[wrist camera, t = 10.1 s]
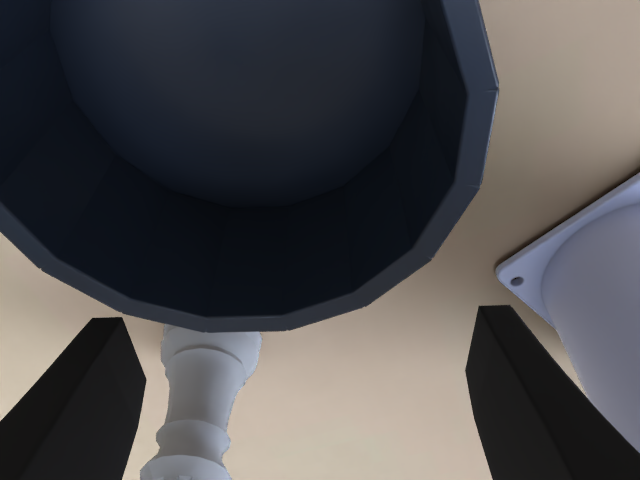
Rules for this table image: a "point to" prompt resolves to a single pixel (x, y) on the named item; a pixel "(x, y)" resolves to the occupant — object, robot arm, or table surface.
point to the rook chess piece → (200, 401)
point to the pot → (240, 150)
